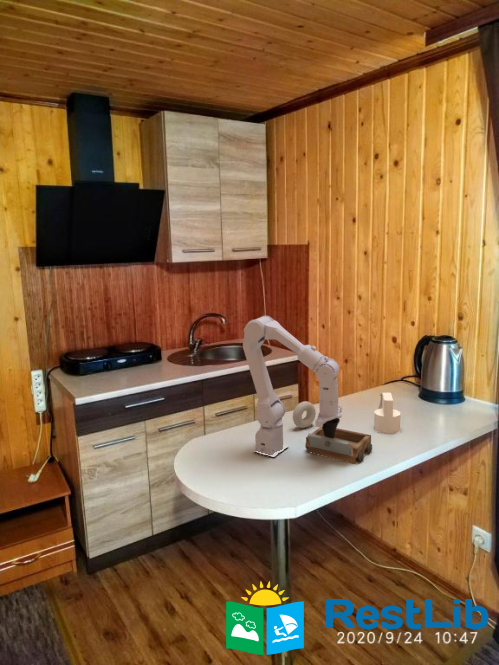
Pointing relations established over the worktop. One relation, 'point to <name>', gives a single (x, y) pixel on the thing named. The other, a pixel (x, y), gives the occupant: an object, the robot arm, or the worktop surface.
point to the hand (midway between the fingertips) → (329, 441)
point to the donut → (299, 411)
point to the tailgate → (330, 444)
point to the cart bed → (356, 440)
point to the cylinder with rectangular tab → (387, 416)
